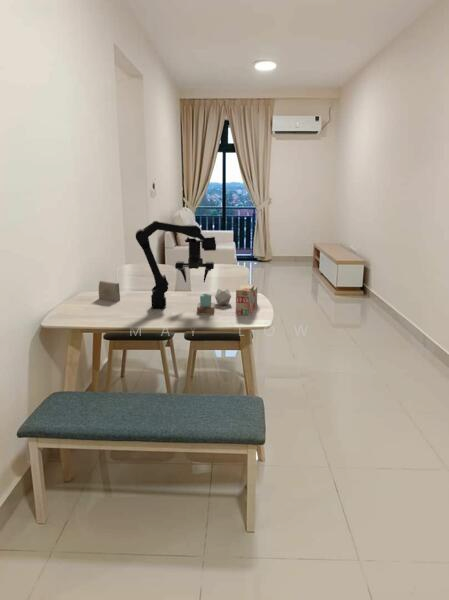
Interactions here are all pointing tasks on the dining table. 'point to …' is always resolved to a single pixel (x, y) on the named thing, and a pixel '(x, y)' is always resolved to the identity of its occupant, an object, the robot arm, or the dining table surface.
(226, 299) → the die
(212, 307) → the walnut base
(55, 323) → the dining table surface
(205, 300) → the teal cube
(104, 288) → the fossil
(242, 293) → the printed cardboard box
